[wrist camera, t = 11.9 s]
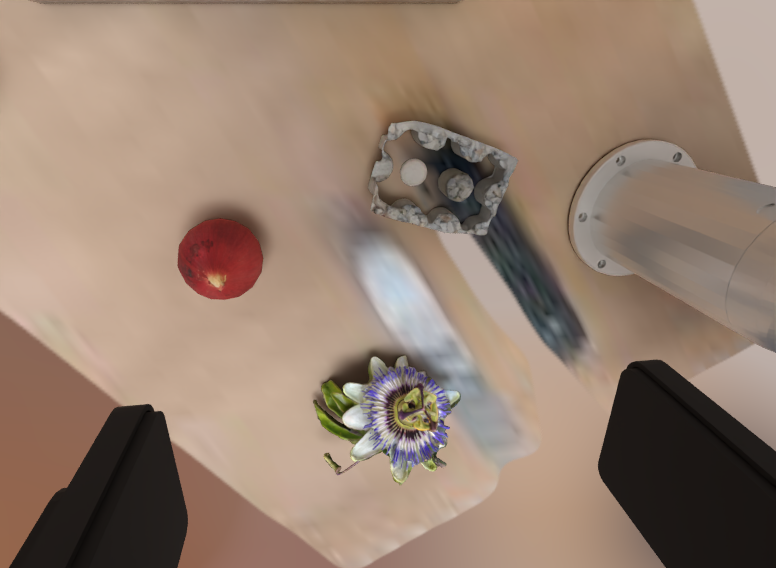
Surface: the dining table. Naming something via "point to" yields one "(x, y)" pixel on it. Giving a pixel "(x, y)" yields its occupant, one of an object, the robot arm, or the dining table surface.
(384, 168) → the egg carton
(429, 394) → the passion flower
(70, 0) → the rail
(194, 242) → the onion
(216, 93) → the dining table surface
